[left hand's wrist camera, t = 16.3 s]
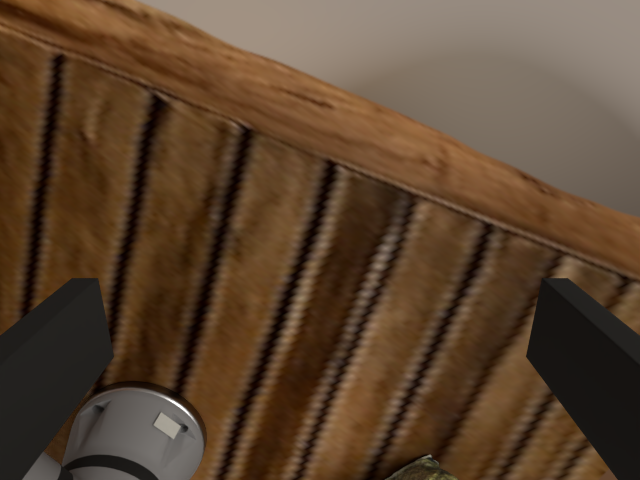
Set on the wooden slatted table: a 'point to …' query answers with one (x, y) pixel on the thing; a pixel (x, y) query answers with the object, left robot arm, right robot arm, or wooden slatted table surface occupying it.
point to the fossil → (422, 471)
